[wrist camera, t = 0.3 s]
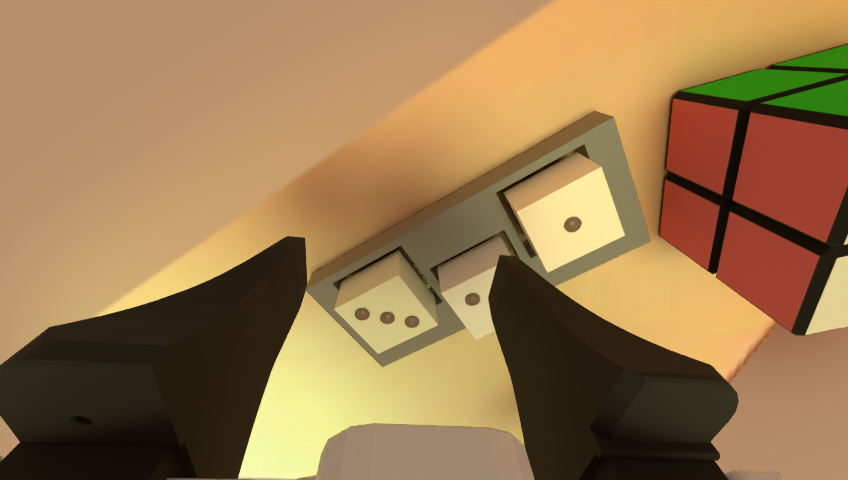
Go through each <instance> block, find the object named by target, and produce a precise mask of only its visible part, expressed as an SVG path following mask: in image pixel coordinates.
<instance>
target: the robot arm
mask: <svg viewBox="0 0 848 480" xmlns="http://www.w3.org/2000/svg"><path fill="white" fill-rule="evenodd" d="M306 287H307V269H306V247H305V238H302V237H290V236H287V237H285V238H283V239H282V240H280V241H278V242H277V243H275V244H273V245H272V246H270V247H269V248H267V249H265V250H264V251H262V252H260V253H259V254H257V255H256V256H254V257H252V258H251V259H249V260H247V261H245V262H244V263H242V264H240V265H238V266H236V267H234V268H232V269H231V270H229V271H227V272H225V273H223V274H221V275H219V276H217V277H215V278H213V279H211V280H209V281H206V282H204V283H202V284H199V285H197V286H195V287H192V288H190V289H187V290H184V291H182V292H179V293H176V294H173V295H170V296H168V297H165V298H162V299H159V300H156V301H153V302H150V303H147V304H144V305H140V306H137V307H134V308H130V309H126V310H123V311H119V312H115V313H111V314H107V315H103V316H99V317H94V318H90V319H85V320H81V321H76V322H72V323H67V324H63V325H58V326H53V327H49V328H48V329H46V330H45V331H44V332H43V333H41V334H40V335H39V336H38V337H36V338H35V339H34V340H32V341H31V342H30V343H28V344H27V345H26V346H24V347H23V348H22V349H21V350H19V351H18V352H17V353H15V354H14V355H13V356H12V357H10V358H9V359H8V360H6V361H5V362H4V363H2V364H1V365H0V416H1V417H2V418H3V420H4V421H5V422H6V424H7V425H8V426H9V428H10V429H11V430H12V432H13V433H14V434H15V436H16V437H17V438H18V440H19V441H20V443H19V444H18V445H17V446H16V447H15V448H14V449H13V450H12V451H11V452H10V453H9V454H8V455H7V456H6V457H5V458H3V457H1V456H0V480H254V479H238V476H239V472H240V469H241V465H242V461H243V458H244V455H245V451H246V448H247V445H248V441H249V438H250V435H251V431H252V428H253V425H254V422H255V418H256V415H257V412H258V409H259V406H260V403H261V400H262V397H263V394H264V391H265V388H266V385H267V382H268V379H269V376H270V373H271V370H272V368H273V366H274V363H275V361H276V358H277V356H278V354H279V352H280V350H281V348H282V346H283V343H284V341H285V339H286V337H287V335H288V333H289V331H290V329H291V326H292V324H293V322H294V320H295V318H296V316H297V313H298V311H299V309H300V307H301V303H302V300H303V297H304V294H305V290H306ZM488 301H489V307H490V313H491V318H492V322H493V325H494V328H495V331H496V334H497V337H498V340H499V343H500V346H501V349H502V352H503V355H504V358H505V361H506V364H507V367H508V370H509V373H510V377H511V380H512V384H513V388H514V393H515V398H516V402H517V407H518V412H519V417H520V422H521V427H522V432H523V438H524V444H525V446H524V445H523V444H522V443H521V442H520V441H519V440H517V439H516V438H515V437H514V436H513V435H512V434H510V433H508V432H506V431H501V430H496V429H492V428H487V427H463V426H434V425H406V424H377V423H374V424H366V425H358V426H351V427H349V428H347V429H345V430H344V431H342V432H340V433H338V434H336V435H335V436H333V437H331V438H330V439H328V440H327V443H326V445H325V447H324V449H323V451H322V454H321V458H320V462H319V467H318V472H317V475H315V476H309V477H303V478H298V479H292V480H785V479H784V478H783V477H782V476H781V474H780V473H779V472H776V471H769V470H734V471H731V472H728V473H726V474H724V473H723V472H722V470H721V469H720V468H719V466H718V465H717V464H716V462H715V461H714V460H718V459H719V458H720V454H719V452H718V451H717V450H716V448H715V447H714V446H713V444H712V443H711V440H712V439H713V438H714V437H715V436H716V435H717V434H718V432H719V431H720V430H721V429H722V428H723V427H724V426H725V425H726V423H728V422H729V420H730V419H731V418H732V416H733V415H734V413H735V411H736V409H737V405H738V395H737V392H736V391H735V390H734V389H733V387H732V386H731V385H730V384H729V383H728V382H727V381H726V380H725V379H724V378H723V377H722V376H721V375H720V374H719V373H718V372H717V371H716V370H715V369H714V367H712V366H711V365H709V364H706V363H704V362H701V361H698V360H695V359H692V358H690V357H687V356H684V355H681V354H679V353H676V352H673V351H670V350H668V349H665V348H663V347H661V346H658V345H656V344H654V343H651V342H649V341H647V340H644V339H642V338H640V337H638V336H636V335H633V334H631V333H629V332H627V331H625V330H623V329H621V328H619V327H618V326H616V325H614V324H612V323H610V322H608V321H606V320H604V319H603V318H601V317H599V316H597V315H596V314H594V313H593V312H591V311H589V310H588V309H586V308H584V307H583V306H581V305H580V304H578V303H577V302H575V301H574V300H572V299H571V298H569V297H568V296H567V295H565V294H564V293H562V292H561V291H560V290H558V289H557V288H556V287H554V286H553V285H552V284H551V283H549V282H548V281H547V280H545V279H544V278H543V277H542V276H540V275H539V274H538V273H537V272H535V271H534V270H533V269H532V268H531V267H529V266H528V265H527V264H525V263H524V262H523V261H522V260H520V259H519V258H517V257H516V256H507V255H499V259H498V263H497V266H496V270H495V274H494V277H493V281H492V284H491V288H490V292H489V295H488Z"/></svg>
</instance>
